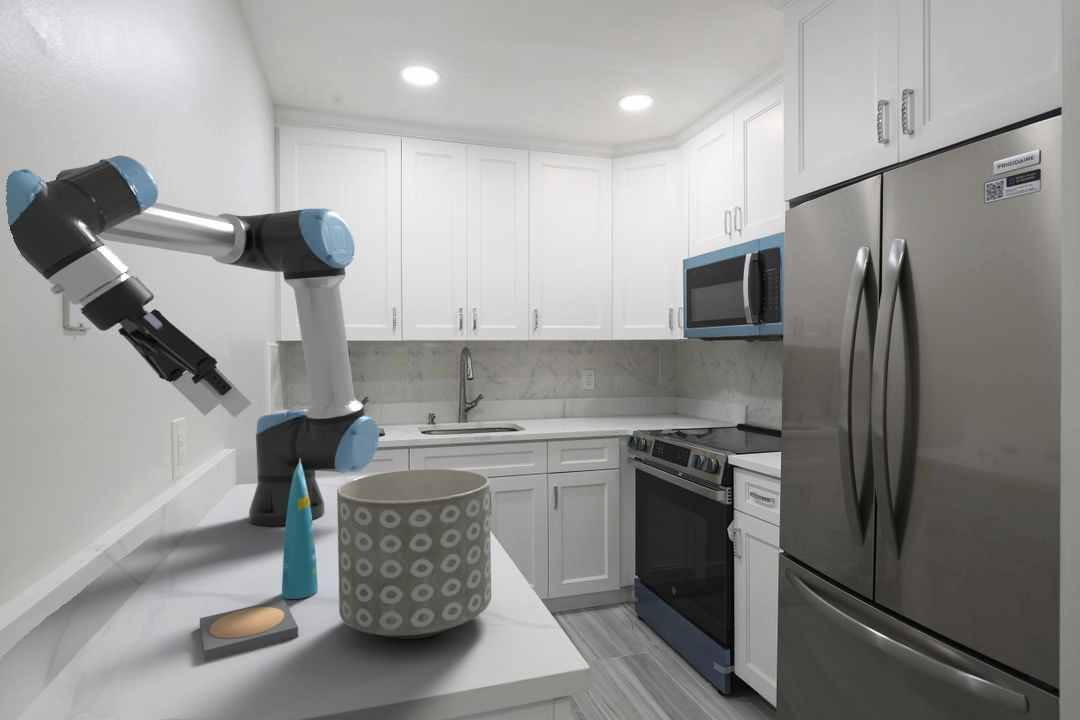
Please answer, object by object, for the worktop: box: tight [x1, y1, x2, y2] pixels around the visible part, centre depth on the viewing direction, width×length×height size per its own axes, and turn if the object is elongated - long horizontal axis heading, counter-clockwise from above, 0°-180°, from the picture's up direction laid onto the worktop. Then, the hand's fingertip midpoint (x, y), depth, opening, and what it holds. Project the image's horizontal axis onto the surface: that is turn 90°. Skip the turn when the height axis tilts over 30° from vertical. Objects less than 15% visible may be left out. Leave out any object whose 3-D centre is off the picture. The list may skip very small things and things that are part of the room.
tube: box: [281, 459, 319, 600], centre depth 84 cm, size 7×5×19 cm, turn 26°
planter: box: [336, 468, 492, 640], centre depth 74 cm, size 19×19×18 cm
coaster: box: [199, 598, 299, 662], centre depth 72 cm, size 10×10×1 cm
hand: (226, 409), depth 82 cm, fingers open, 13 cm apart
